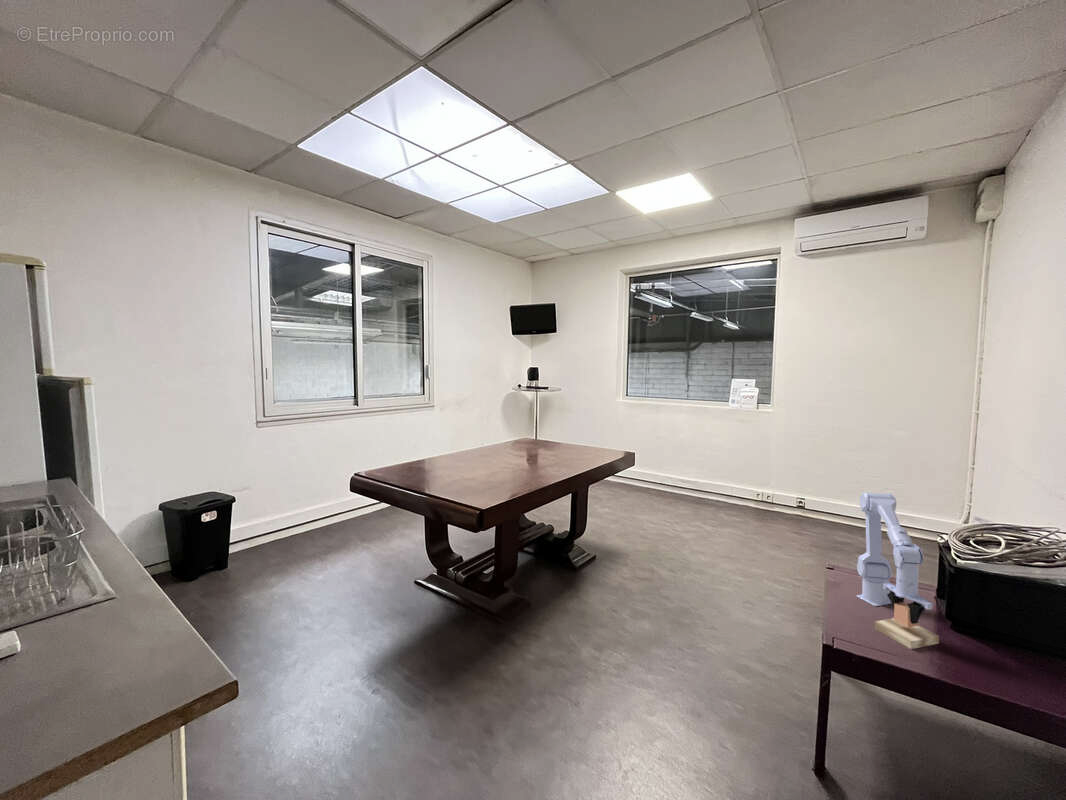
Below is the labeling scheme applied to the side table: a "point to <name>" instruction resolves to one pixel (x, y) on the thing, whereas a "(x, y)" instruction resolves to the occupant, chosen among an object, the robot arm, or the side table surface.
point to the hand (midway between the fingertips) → (906, 618)
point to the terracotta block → (903, 614)
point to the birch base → (907, 634)
